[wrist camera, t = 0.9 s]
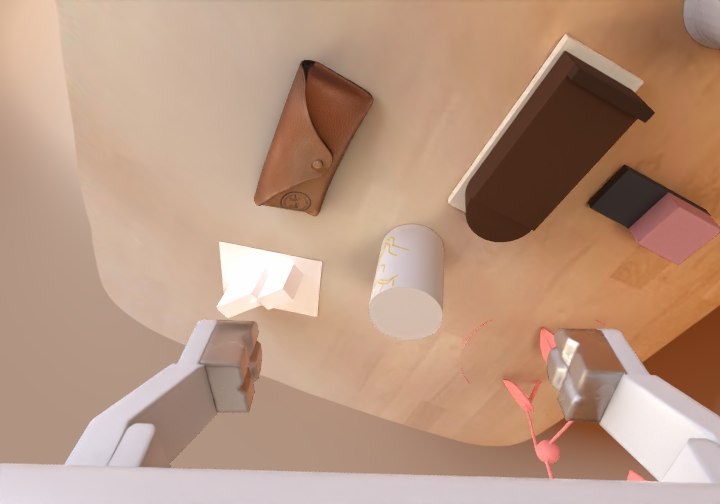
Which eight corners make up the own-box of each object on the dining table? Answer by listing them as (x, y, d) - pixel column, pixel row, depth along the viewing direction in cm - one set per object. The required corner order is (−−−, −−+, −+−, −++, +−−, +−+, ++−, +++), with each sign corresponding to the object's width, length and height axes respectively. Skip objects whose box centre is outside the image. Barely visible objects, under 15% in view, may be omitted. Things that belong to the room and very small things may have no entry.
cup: (395, 214, 56) (383, 276, 46) (455, 238, 56) (455, 303, 47) (373, 261, 61) (358, 325, 51) (428, 281, 61) (424, 349, 52)
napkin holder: (224, 298, 70) (208, 325, 66) (217, 241, 63) (200, 266, 59) (318, 317, 69) (308, 345, 65) (322, 260, 62) (311, 287, 58)
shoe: (565, 33, 41) (584, 54, 35) (639, 77, 42) (669, 104, 36) (448, 197, 53) (447, 233, 47) (508, 228, 54) (515, 266, 49)
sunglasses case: (319, 221, 58) (281, 235, 53) (284, 187, 60) (244, 198, 55) (378, 94, 47) (337, 97, 42) (332, 58, 49) (288, 57, 44)
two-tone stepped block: (587, 202, 51) (597, 222, 47) (624, 164, 47) (637, 183, 44) (665, 243, 52) (679, 266, 49) (706, 209, 49) (724, 231, 46)
